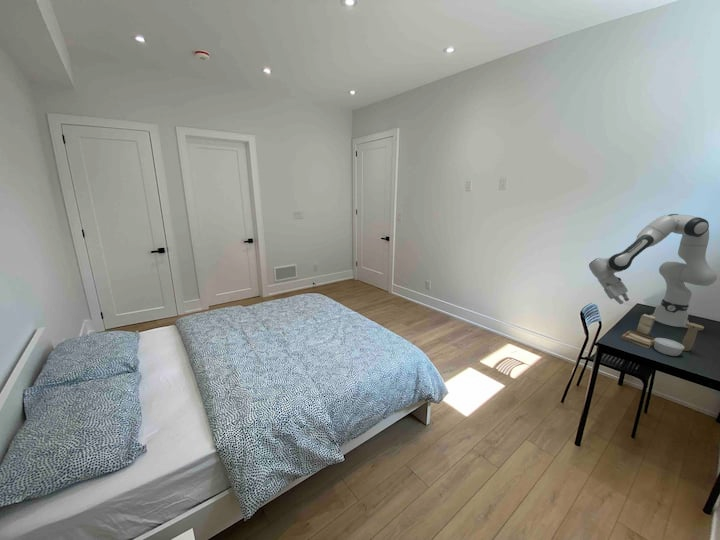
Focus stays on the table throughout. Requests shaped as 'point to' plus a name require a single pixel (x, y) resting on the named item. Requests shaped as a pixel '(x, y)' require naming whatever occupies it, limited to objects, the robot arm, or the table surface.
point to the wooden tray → (638, 339)
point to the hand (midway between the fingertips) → (624, 302)
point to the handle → (691, 335)
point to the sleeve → (645, 324)
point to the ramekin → (668, 346)
